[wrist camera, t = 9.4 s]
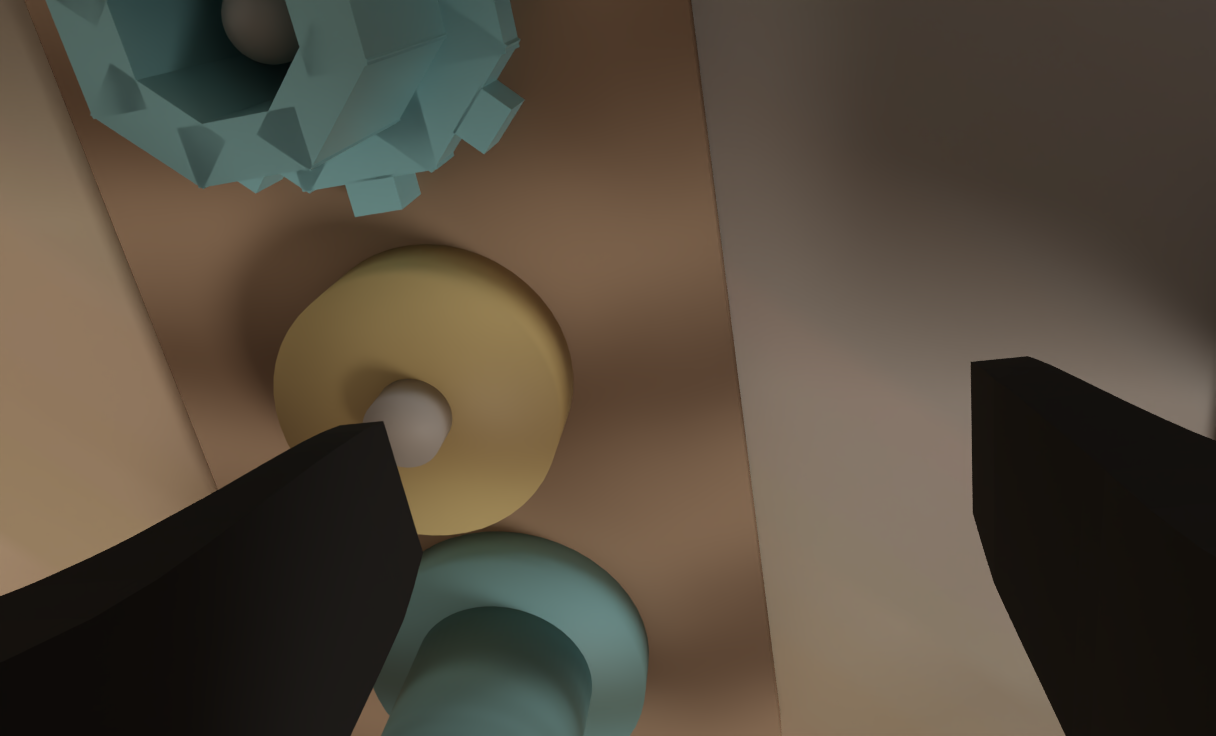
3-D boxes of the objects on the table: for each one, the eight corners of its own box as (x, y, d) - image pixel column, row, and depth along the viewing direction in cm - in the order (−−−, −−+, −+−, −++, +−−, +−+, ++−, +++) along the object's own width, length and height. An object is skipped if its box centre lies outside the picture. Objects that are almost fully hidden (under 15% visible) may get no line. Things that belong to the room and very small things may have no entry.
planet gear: (486, -288, 15) (380, -387, 11) (578, 168, 18) (526, 245, 14) (84, -181, 17) (-165, -227, 12) (231, 225, 20) (77, 313, 15)
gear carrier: (5, -139, 18) (-361, -178, 12) (654, -291, 16) (607, -435, 10) (337, 729, 27) (223, 957, 21) (779, 713, 25) (796, 964, 19)
